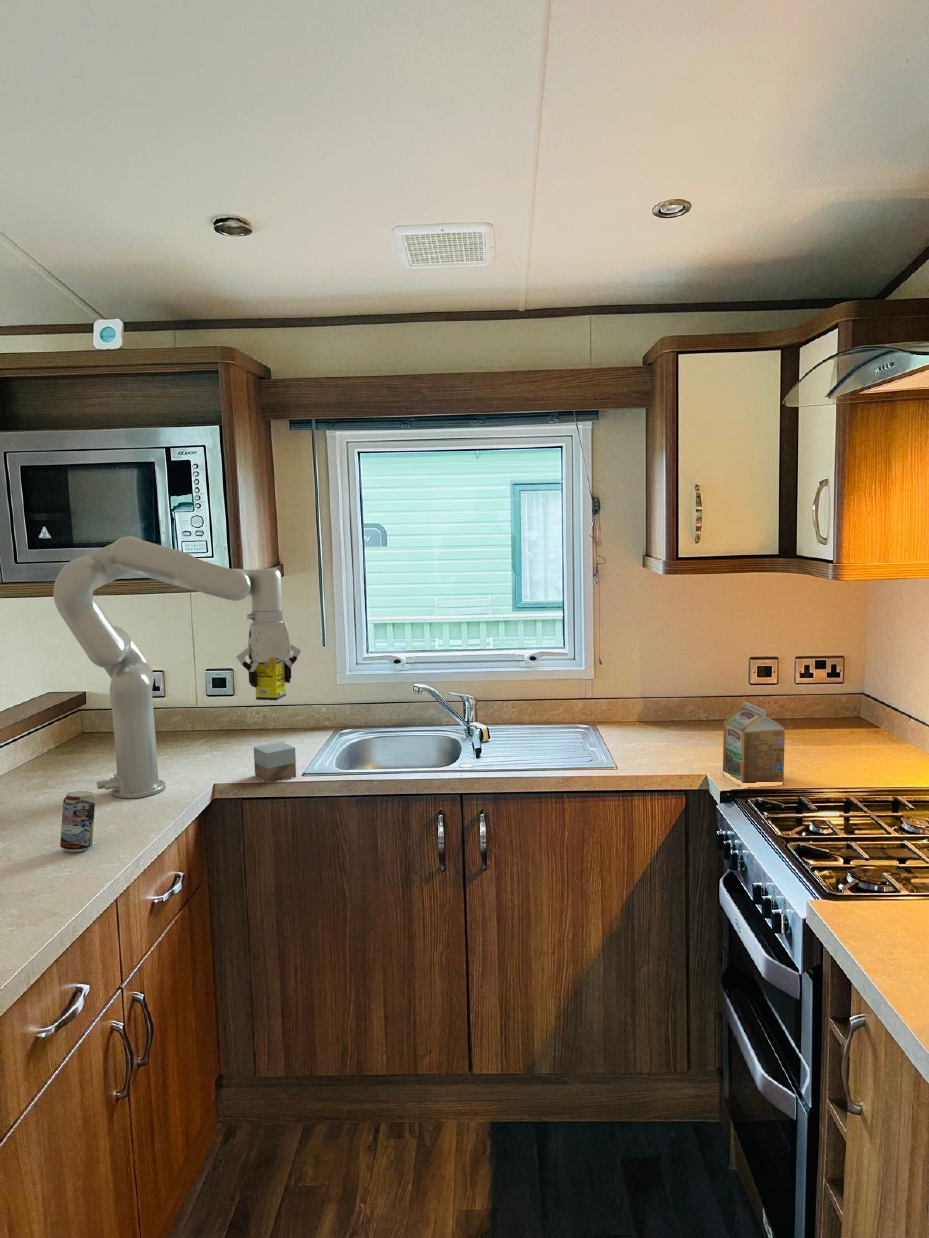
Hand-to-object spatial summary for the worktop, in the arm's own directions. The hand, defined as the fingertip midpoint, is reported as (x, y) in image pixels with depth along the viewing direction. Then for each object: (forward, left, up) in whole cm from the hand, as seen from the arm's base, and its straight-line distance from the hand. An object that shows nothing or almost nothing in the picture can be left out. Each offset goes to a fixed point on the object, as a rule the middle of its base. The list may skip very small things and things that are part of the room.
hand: (270, 683), depth 218 cm
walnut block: (0, 0, -25) cm, 25 cm away
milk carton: (+95, -76, -25) cm, 124 cm away
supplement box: (0, 0, -4) cm, 4 cm away
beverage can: (-51, -22, -25) cm, 61 cm away
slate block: (0, 0, -21) cm, 21 cm away
